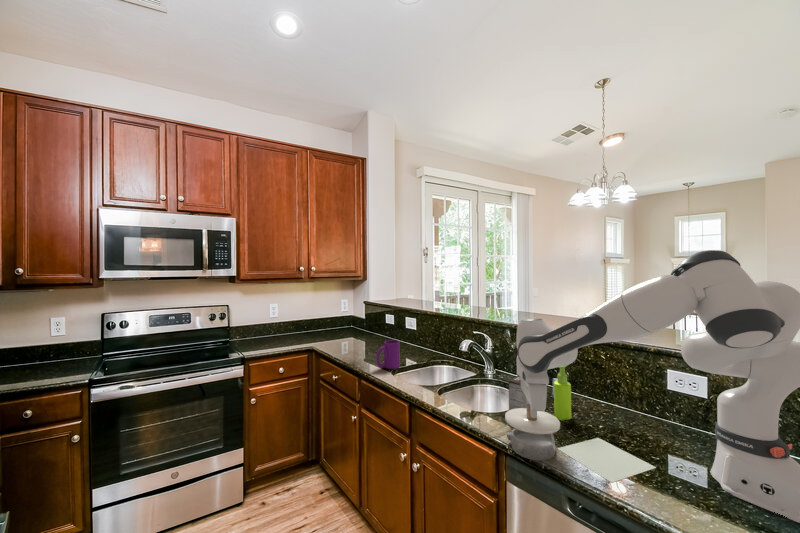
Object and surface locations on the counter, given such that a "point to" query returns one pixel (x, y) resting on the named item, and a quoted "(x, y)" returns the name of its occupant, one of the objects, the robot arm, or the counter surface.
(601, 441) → the mat
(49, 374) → the counter surface
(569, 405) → the soap dispenser
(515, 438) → the dish
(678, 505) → the counter surface
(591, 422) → the counter surface
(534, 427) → the lid
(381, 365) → the mug
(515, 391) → the coffee box
